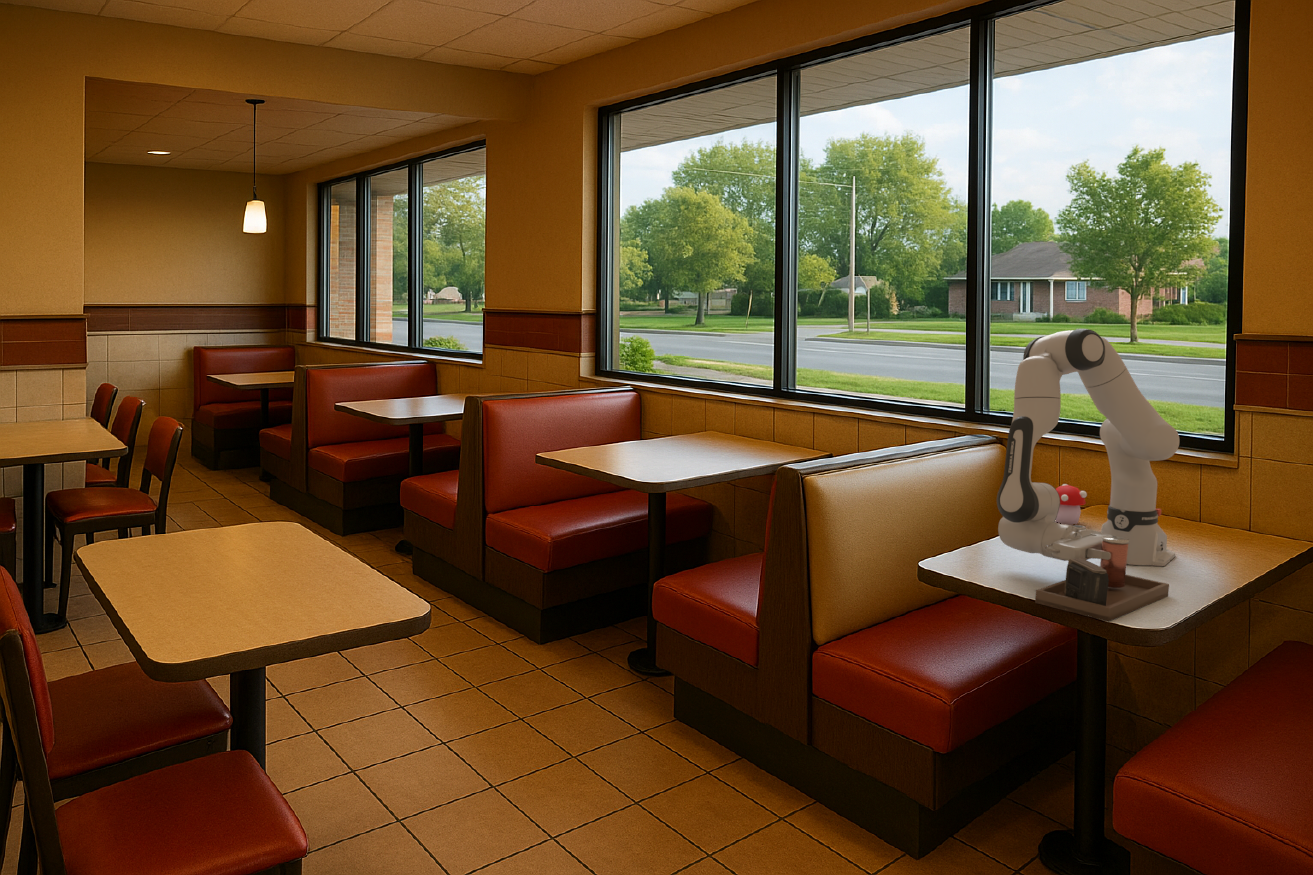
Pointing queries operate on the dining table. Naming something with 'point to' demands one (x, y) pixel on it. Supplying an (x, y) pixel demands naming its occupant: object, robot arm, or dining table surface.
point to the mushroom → (1070, 504)
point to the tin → (1115, 560)
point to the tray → (1117, 602)
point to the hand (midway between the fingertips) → (1118, 553)
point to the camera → (1086, 581)
